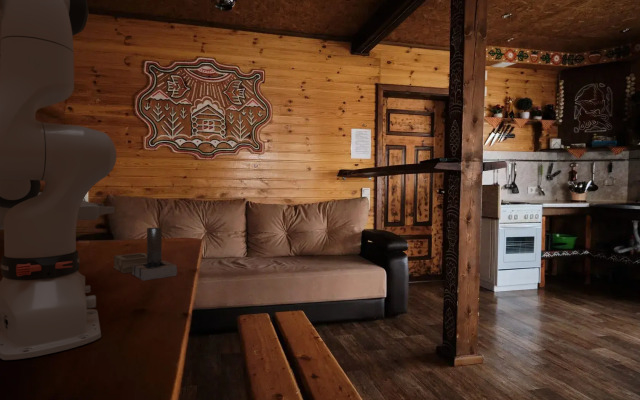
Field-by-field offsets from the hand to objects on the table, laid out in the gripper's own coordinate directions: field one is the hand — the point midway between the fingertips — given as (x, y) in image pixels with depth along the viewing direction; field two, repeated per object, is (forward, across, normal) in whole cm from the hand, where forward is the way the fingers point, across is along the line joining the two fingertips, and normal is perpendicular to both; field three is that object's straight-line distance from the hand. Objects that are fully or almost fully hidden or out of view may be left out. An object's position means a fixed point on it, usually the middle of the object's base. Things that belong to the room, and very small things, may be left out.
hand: (108, 208), depth 106 cm
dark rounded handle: (+12, -1, +20) cm, 24 cm away
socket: (+12, -1, +20) cm, 24 cm away
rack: (+10, +11, +21) cm, 26 cm away
